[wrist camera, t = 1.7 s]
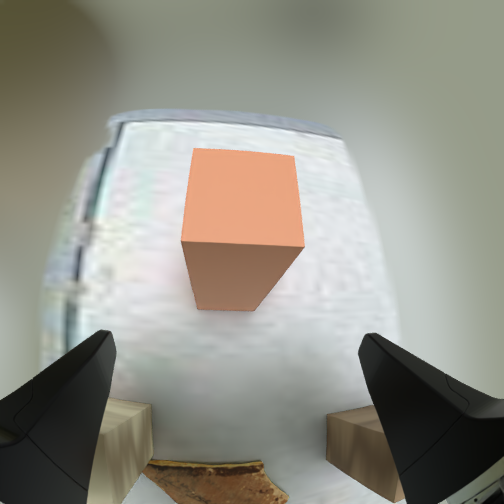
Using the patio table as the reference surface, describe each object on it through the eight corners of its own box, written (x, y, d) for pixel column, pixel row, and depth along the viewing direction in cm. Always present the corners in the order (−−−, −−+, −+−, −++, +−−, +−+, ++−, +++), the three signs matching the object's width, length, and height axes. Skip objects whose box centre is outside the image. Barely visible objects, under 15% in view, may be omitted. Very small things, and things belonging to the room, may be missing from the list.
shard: (134, 455, 16) (128, 461, 14) (201, 404, 18) (200, 408, 17) (228, 530, 13) (230, 540, 12) (294, 484, 16) (300, 492, 15)
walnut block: (370, 448, 18) (448, 474, 8) (326, 459, 17) (393, 503, 8) (372, 405, 19) (455, 414, 10) (327, 414, 19) (402, 438, 10)
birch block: (153, 454, 16) (115, 511, 6) (102, 444, 15) (39, 484, 6) (151, 404, 17) (103, 434, 8) (99, 395, 17) (26, 410, 8)
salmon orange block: (254, 311, 21) (304, 246, 10) (197, 309, 21) (180, 240, 9) (253, 258, 23) (294, 156, 12) (200, 256, 22) (193, 148, 11)
